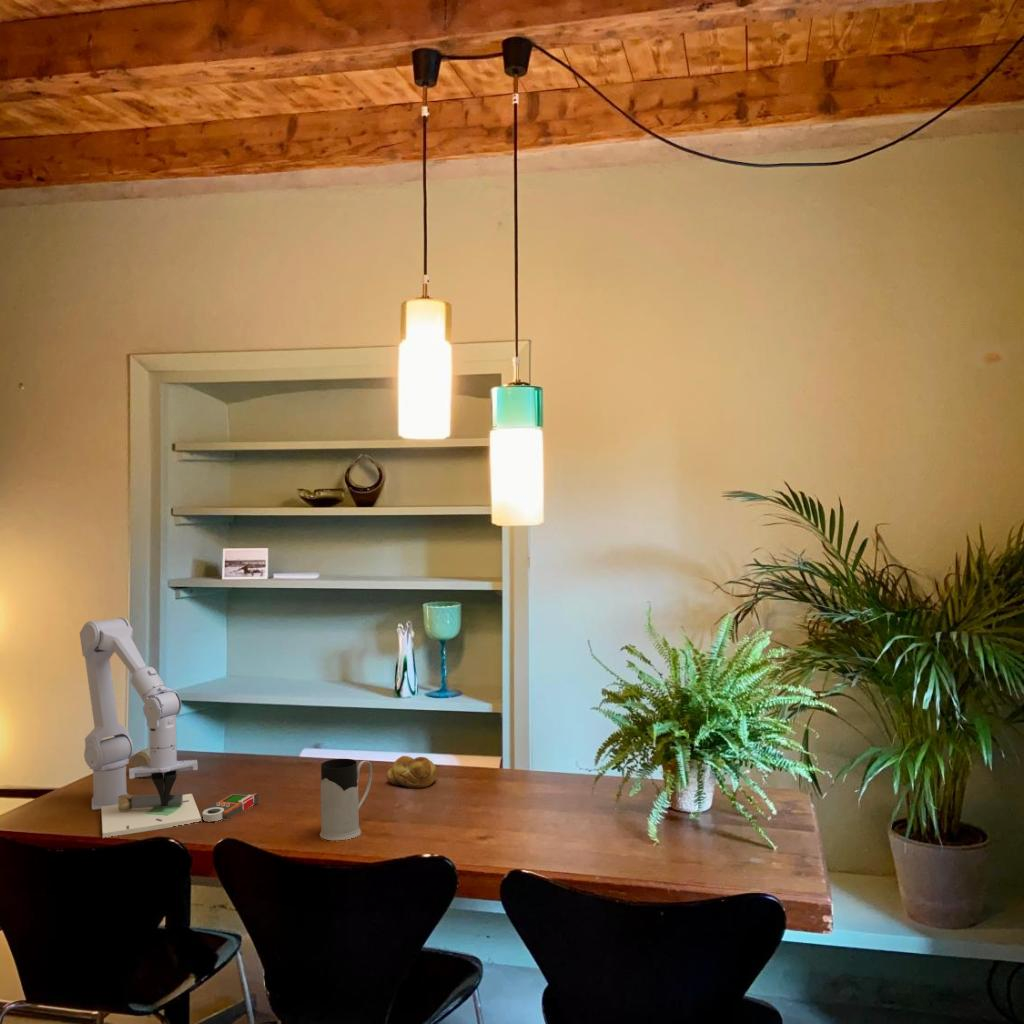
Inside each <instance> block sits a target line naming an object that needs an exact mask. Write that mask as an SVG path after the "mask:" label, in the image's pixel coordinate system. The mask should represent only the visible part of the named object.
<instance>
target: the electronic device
mask: <svg viewBox="0 0 1024 1024" xmlns="http://www.w3.org/2000/svg"><path fill="white" fill-rule="evenodd" d="M259 799H260V798H259V793H255V792H254V793H253V792H245V791H233V792H231V793H229V794H227V795H226V796H224V797H221V798H220V799H219V800H217V801H215V802H213V803H212V804H210V805H208V806H207V807H205V808H203V809H202V810H201V818H202V817H203V818H202V821H203V820H204V821H208V822H210V821H218V820H221V819H228V818H230V817H231V816H233V815H235V814H237V813H239V812H241V811H242V810H245V809H247V808H249V807H251V806H253V805H254V804H256V803H257V804H258V802H259ZM259 803H260V802H259ZM257 804H256V805H257ZM254 806H255V805H254ZM221 821H222V820H221Z"/></svg>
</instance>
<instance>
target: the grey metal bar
mask: <svg viewBox="0 0 1024 1024" xmlns="http://www.w3.org/2000/svg"><path fill="white" fill-rule="evenodd" d="M183 795H184V794H183V792H170V795H169V799H168V806H181V805H182V804H183ZM148 807H162V806H161V800H160V796H159V793H151V794H137V795H134V794H130V793H128V794H125V795H121V796H119V797H118V810H120V811H125V810H130V809H132V808H148Z"/></svg>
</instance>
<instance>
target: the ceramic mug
mask: <svg viewBox="0 0 1024 1024" xmlns="http://www.w3.org/2000/svg"><path fill="white" fill-rule="evenodd" d="M149 764H150V746H149V747H146V748H144V749H142V750H140V751H138V752H137V753H135V754H134V756H133V760H132V768H135V767H140V766H145V765H149ZM150 776H151V775H149V776H142V777H141V778H143V777H145V778H151V777H150ZM163 778H164V774H163Z"/></svg>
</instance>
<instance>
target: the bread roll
mask: <svg viewBox="0 0 1024 1024" xmlns="http://www.w3.org/2000/svg"><path fill="white" fill-rule="evenodd" d="M436 778H437V767H436V765H435V764H434V762H433V761H432V760H431V759H429V758H427V757H426V756H425V757H424V756H419V757H417V756H416V757H415V758H413V757H411V756H409V755H402V756H399V758H397V759H396V760H395V761H394V762H393V763H392V767H391V768H389V769H388V770H387V771H386V780H387V781H388V782H389V783H390V784H393V785H396V786H403V787H407V788H409V789H412V788H413V789H421V788H427V787H429V786H431V785H433V783H434V781H436Z"/></svg>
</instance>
